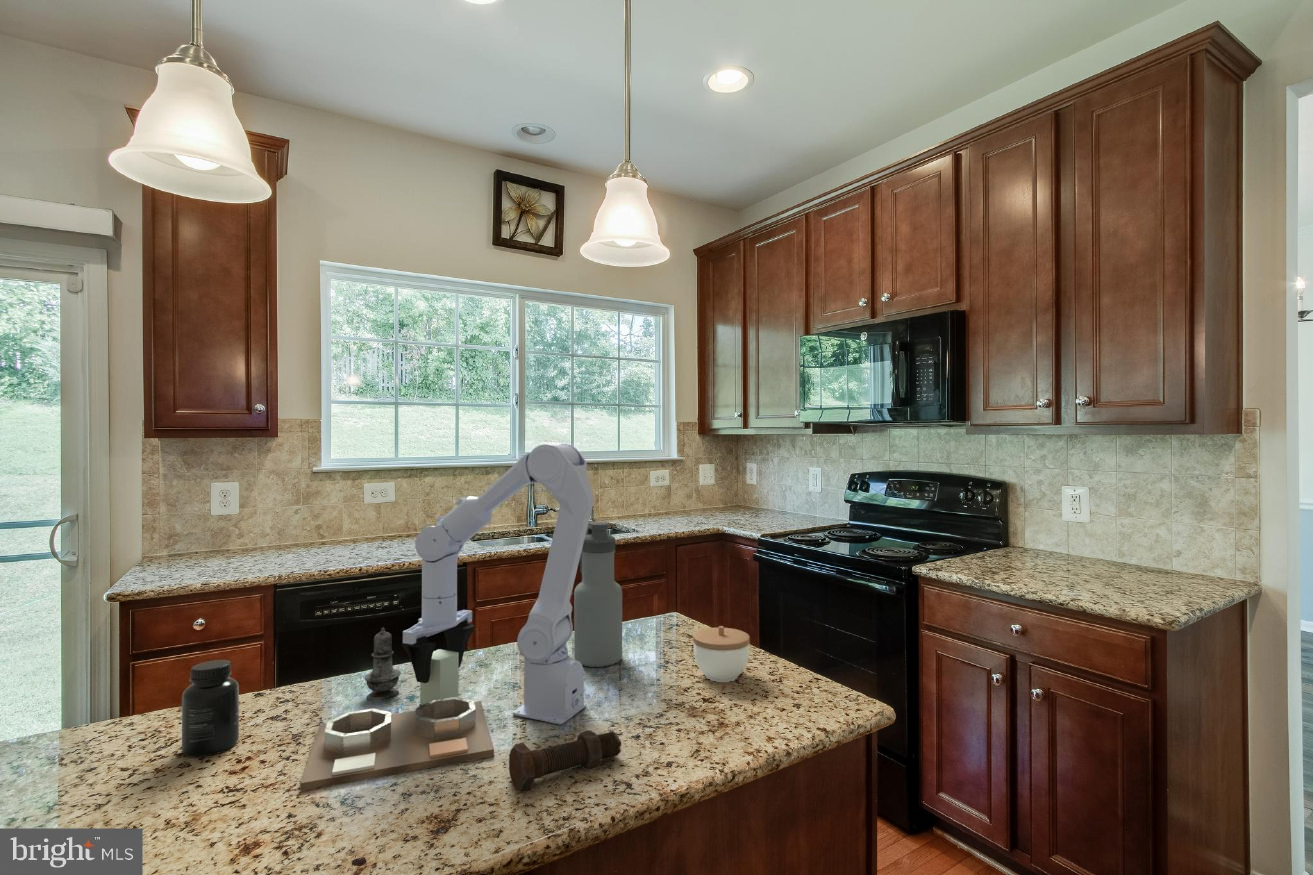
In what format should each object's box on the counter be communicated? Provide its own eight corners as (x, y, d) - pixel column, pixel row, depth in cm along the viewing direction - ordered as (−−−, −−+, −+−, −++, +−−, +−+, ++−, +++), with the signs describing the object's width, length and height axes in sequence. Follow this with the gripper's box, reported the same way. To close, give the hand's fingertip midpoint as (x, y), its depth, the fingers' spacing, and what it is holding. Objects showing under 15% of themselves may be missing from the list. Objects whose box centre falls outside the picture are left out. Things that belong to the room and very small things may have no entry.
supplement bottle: (249, 740, 94) (250, 659, 94) (203, 762, 87) (204, 675, 88) (217, 733, 96) (217, 654, 96) (169, 754, 90) (170, 670, 90)
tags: (465, 740, 91) (465, 737, 91) (467, 751, 88) (467, 748, 88) (335, 762, 85) (335, 759, 85) (332, 775, 82) (332, 772, 82)
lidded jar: (682, 680, 117) (682, 629, 117) (709, 662, 126) (708, 616, 126) (735, 691, 112) (735, 638, 112) (758, 673, 121) (758, 624, 121)
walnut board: (480, 706, 105) (480, 700, 105) (494, 756, 89) (494, 749, 89) (319, 731, 97) (319, 724, 97) (300, 790, 80) (300, 783, 80)
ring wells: (472, 709, 102) (472, 694, 102) (477, 732, 94) (477, 715, 94) (329, 731, 94) (329, 714, 94) (322, 757, 86) (322, 739, 86)
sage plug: (458, 698, 109) (458, 652, 109) (440, 708, 105) (440, 660, 105) (438, 694, 111) (438, 649, 111) (420, 704, 107) (420, 656, 107)
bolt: (619, 772, 88) (516, 801, 80) (604, 741, 92) (505, 767, 84) (630, 743, 86) (526, 771, 78) (615, 713, 90) (514, 737, 81)
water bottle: (571, 653, 132) (571, 520, 133) (617, 649, 135) (616, 519, 135) (577, 670, 122) (576, 526, 123) (626, 666, 125) (626, 524, 125)
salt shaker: (387, 703, 107) (387, 632, 107) (356, 700, 108) (356, 631, 108) (407, 690, 113) (407, 623, 113) (378, 687, 114) (378, 621, 114)
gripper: (450, 584, 116) (450, 657, 116) (388, 602, 103) (388, 685, 103) (481, 587, 114) (481, 663, 113) (421, 606, 100) (421, 692, 100)
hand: (439, 674), depth 108 cm, fingers open, 7 cm apart
